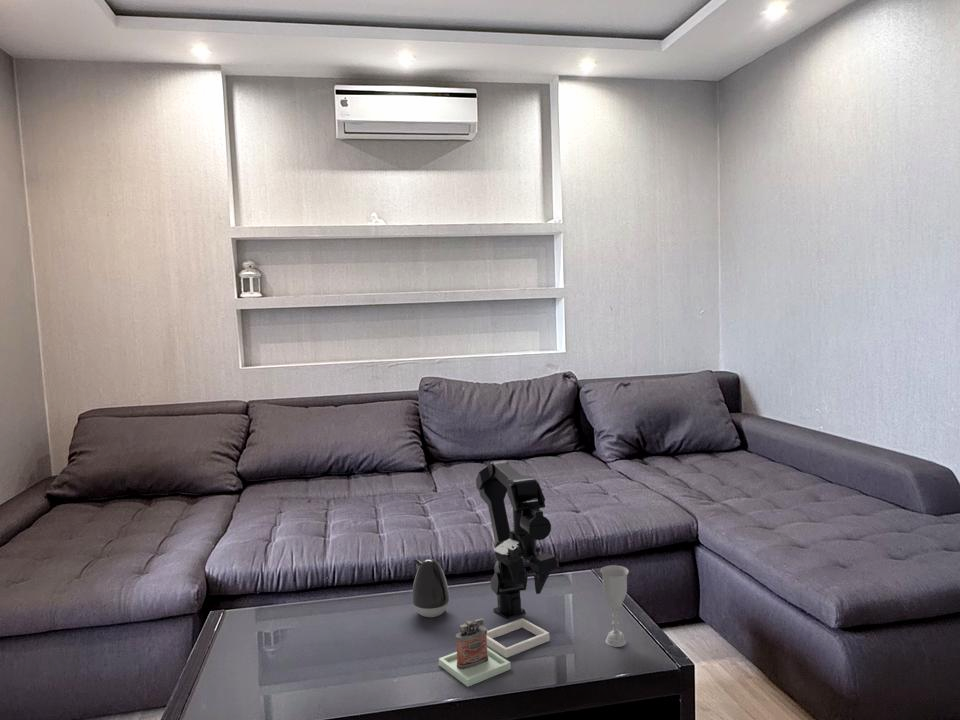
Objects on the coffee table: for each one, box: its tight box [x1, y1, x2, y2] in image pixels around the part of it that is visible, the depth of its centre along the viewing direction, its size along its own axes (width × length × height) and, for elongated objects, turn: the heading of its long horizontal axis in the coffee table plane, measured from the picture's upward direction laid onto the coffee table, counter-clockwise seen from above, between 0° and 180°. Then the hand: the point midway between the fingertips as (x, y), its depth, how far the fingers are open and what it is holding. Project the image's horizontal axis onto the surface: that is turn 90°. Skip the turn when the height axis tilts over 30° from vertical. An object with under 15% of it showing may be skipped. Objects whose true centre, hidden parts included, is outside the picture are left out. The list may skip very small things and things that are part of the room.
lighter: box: [455, 618, 488, 669], centre depth 164 cm, size 8×3×10 cm, turn 121°
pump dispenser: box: [411, 558, 450, 618], centre depth 193 cm, size 10×10×15 cm
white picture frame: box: [487, 617, 550, 659], centre depth 176 cm, size 11×14×2 cm
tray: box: [438, 646, 512, 687], centre depth 164 cm, size 12×12×2 cm
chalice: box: [600, 564, 629, 648], centre depth 173 cm, size 7×7×18 cm
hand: (526, 587), depth 178 cm, fingers open, 9 cm apart
